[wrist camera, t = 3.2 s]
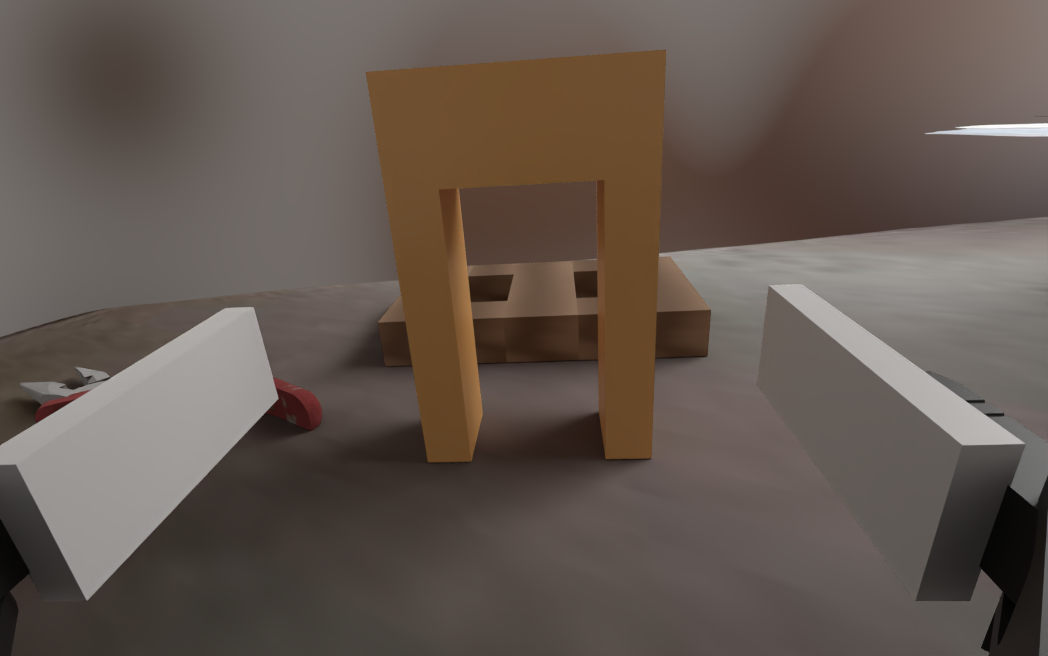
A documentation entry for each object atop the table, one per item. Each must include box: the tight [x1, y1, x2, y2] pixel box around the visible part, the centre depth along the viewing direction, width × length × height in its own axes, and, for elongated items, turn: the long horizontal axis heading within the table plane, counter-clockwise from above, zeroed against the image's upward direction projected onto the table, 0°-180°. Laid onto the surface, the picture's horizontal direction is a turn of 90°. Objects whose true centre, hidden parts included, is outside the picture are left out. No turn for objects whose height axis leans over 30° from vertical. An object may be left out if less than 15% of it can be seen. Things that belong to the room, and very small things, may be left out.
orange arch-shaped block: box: [366, 50, 666, 462], centre depth 22 cm, size 10×4×16 cm, turn 87°
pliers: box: [20, 367, 322, 431], centre depth 28 cm, size 12×20×3 cm, turn 58°
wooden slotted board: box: [378, 257, 711, 366], centre depth 38 cm, size 20×12×3 cm, turn 87°
